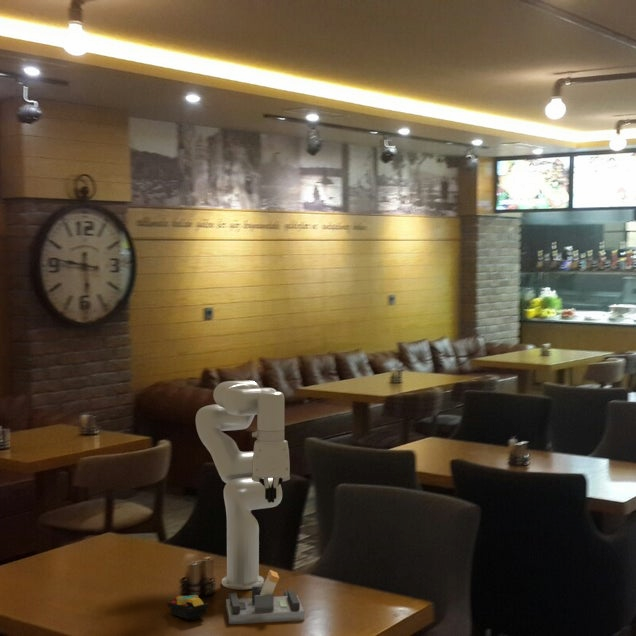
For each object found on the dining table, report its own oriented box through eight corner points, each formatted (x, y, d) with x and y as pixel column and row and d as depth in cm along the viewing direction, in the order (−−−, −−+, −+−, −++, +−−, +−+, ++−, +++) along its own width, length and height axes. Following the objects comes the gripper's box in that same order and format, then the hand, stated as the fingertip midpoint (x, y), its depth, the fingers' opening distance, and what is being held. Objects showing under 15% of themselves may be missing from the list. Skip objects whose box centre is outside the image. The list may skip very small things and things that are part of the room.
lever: (256, 598, 263) (269, 569, 263) (264, 601, 263) (276, 572, 263) (259, 606, 257) (272, 575, 257) (266, 609, 257) (279, 578, 257)
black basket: (184, 612, 265) (183, 591, 265) (210, 617, 255) (209, 596, 255) (164, 617, 261) (163, 596, 261) (190, 622, 251) (188, 601, 251)
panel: (225, 607, 265) (225, 584, 265) (297, 604, 268) (297, 581, 268) (229, 624, 252) (229, 600, 252) (304, 620, 255) (304, 596, 255)
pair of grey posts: (228, 599, 272) (228, 585, 271) (290, 596, 275) (290, 581, 274) (233, 622, 254) (233, 606, 254) (299, 618, 257) (299, 602, 256)
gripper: (245, 438, 261) (245, 505, 261) (299, 437, 263) (299, 503, 264) (242, 434, 268) (242, 499, 269) (295, 433, 271) (295, 497, 271)
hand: (270, 501), depth 266 cm, fingers closed
